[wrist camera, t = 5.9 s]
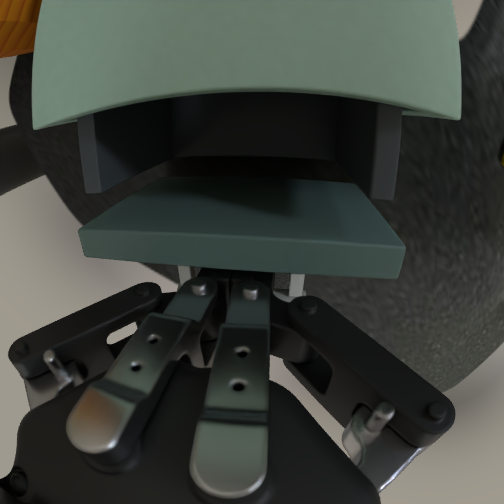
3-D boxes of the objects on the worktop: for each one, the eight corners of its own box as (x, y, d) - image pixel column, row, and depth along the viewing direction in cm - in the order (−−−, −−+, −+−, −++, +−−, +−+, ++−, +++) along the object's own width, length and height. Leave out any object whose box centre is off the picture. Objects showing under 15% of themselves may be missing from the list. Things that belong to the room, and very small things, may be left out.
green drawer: (342, 269, 17) (365, 365, 10) (170, 257, 18) (113, 337, 11) (356, -14, 8) (396, -84, 2) (158, -6, 10) (80, -52, 3)
